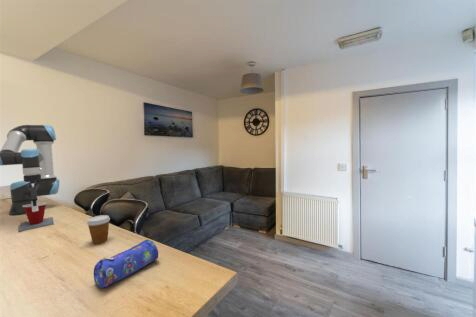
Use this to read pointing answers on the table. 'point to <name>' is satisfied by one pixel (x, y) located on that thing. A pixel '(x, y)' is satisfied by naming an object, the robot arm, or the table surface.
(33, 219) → the plastic cup
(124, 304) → the table surface
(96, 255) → the table surface
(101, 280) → the pencil case
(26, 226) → the slate tile
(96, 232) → the disposable coffee cup
